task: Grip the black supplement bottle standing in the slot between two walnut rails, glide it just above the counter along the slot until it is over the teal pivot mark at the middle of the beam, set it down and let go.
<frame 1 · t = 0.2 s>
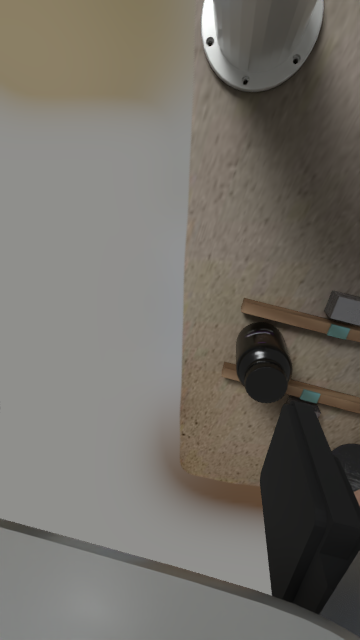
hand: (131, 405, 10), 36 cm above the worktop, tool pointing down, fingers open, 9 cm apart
supplement bottle: (258, 341, 48), on the worktop
travel mug: (350, 460, 52), on the worktop
walnut rails: (319, 358, 47), on the worktop
pivot blocks: (319, 358, 47), on the worktop
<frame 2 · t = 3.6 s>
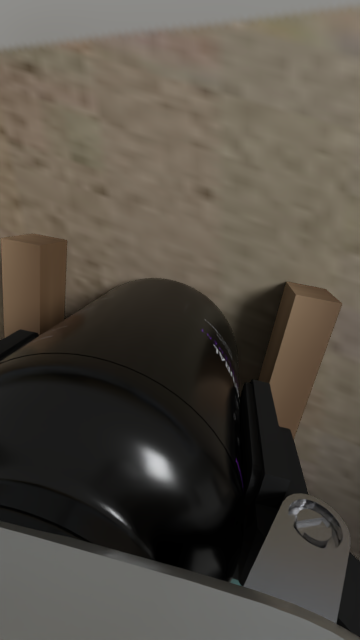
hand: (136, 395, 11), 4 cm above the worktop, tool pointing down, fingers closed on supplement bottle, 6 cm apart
supplement bottle: (160, 347, 14), on the worktop, touching gripper
walnut rails: (137, 497, 17), on the worktop
when the fingers open (5 cm above the worktop, at t = 7.6 s): supplement bottle stays where it is, on the worktop.
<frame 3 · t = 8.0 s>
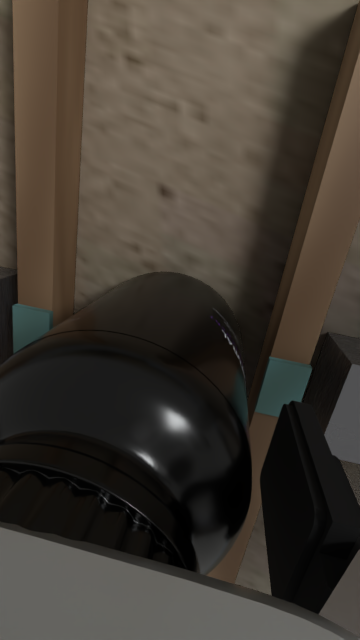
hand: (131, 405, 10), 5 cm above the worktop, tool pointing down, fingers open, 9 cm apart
supplement bottle: (169, 337, 15), on the worktop
walnut rails: (163, 340, 15), on the worktop
pivot blocks: (163, 340, 15), on the worktop
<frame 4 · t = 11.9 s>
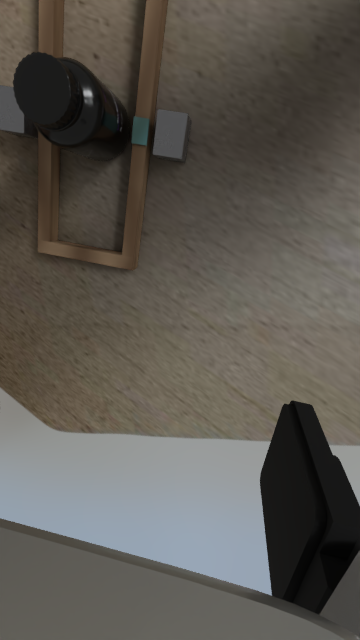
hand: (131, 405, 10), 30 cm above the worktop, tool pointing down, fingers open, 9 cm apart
supplement bottle: (102, 127, 36), on the worktop
walnut rails: (99, 128, 35), on the worktop
pivot blocks: (99, 128, 35), on the worktop
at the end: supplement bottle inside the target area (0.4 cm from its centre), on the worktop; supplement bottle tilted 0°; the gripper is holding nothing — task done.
